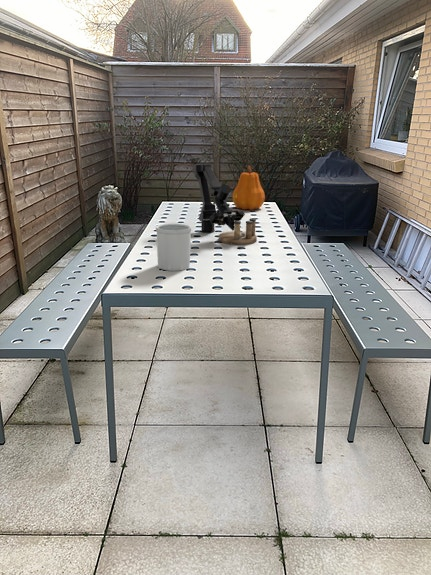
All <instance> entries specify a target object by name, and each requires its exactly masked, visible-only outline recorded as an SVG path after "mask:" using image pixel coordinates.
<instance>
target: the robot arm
mask: <svg viewBox="0 0 431 575" xmlns="http://www.w3.org/2000/svg"><path fill="white" fill-rule="evenodd" d="M192 172H193V174H194V177H195V178H196V180H197V181H198V186H199V191H200V196H201V201H202V202H201V203H202V206H201V209H200V214H199V216H198V220H199V222H201V230H200V231H199V232H201V233H208V234H211V233H213V232H215V225H216V224H217V226H225V225H226V226H227V227H228V228H229V229H230V230H231V231H234V221H241V220H242V219H243V217H245V215H246V214H245V212H244V210H235V213H233V211H234V210H233V209H230V208H231V207H230V203H228V202H227V200H228V199H229V196H230V194H231V193H232V188H231V187H230V186H229V185H227V183H224V182H223V183H221V182H220V181H219V180H218V179H217V177H216V175H215V173H214V171H213V169H212V164H211V163H195V164H194V166H192ZM211 197H214V199H213V202H212V198H211ZM216 208H217V209H216Z"/></svg>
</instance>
